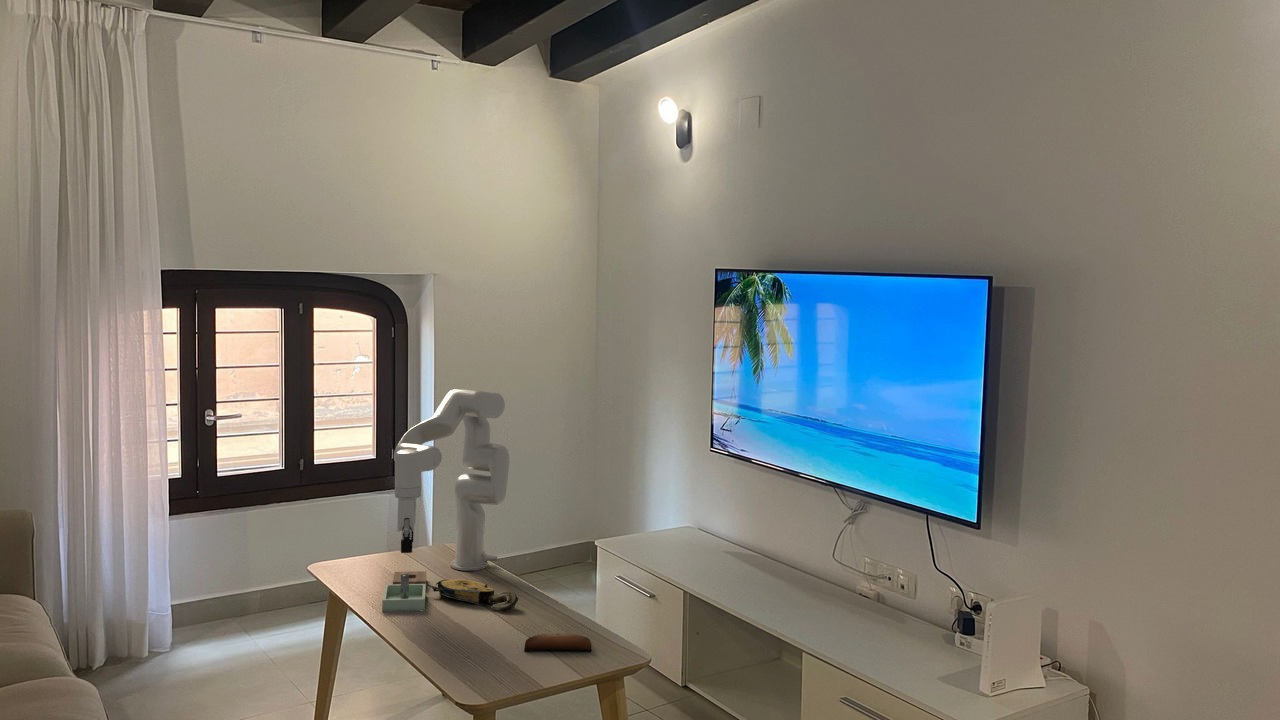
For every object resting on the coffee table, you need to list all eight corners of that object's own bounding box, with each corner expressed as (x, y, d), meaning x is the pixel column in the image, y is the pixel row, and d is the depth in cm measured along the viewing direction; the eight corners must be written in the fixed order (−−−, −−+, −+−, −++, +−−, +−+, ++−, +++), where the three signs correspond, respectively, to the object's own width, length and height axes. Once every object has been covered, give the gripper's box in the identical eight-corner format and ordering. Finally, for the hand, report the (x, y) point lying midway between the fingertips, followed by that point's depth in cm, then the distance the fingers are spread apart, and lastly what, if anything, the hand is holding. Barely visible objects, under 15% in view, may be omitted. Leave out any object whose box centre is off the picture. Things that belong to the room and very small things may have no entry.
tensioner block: (426, 580, 307) (426, 571, 306) (425, 590, 297) (425, 581, 297) (394, 580, 304) (394, 571, 304) (392, 591, 295) (392, 581, 294)
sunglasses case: (589, 640, 263) (591, 624, 259) (590, 661, 257) (592, 645, 253) (524, 640, 261) (524, 624, 257) (523, 661, 255) (524, 646, 251)
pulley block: (499, 597, 276) (426, 575, 292) (496, 617, 275) (424, 594, 292) (530, 592, 288) (459, 571, 304) (528, 611, 287) (456, 590, 304)
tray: (425, 594, 293) (425, 583, 293) (424, 610, 279) (424, 599, 279) (385, 595, 290) (385, 584, 290) (382, 611, 277) (382, 600, 276)
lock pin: (408, 599, 286) (409, 573, 285) (408, 602, 284) (408, 576, 283) (400, 599, 286) (401, 573, 285) (400, 602, 283) (400, 576, 283)
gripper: (396, 484, 290) (395, 538, 292) (393, 499, 273) (392, 557, 275) (421, 484, 291) (420, 538, 293) (420, 499, 274) (419, 556, 276)
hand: (407, 547), depth 284 cm, fingers open, 9 cm apart
